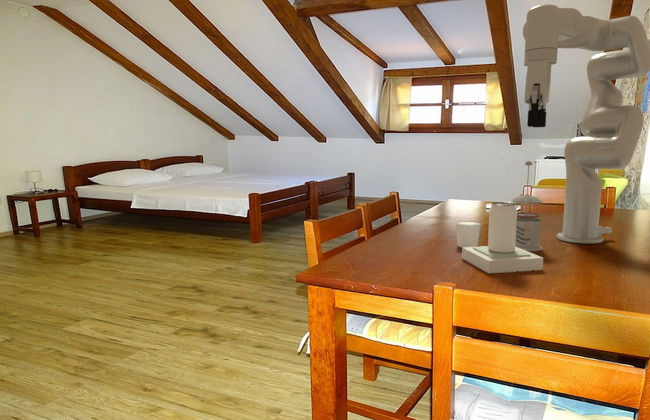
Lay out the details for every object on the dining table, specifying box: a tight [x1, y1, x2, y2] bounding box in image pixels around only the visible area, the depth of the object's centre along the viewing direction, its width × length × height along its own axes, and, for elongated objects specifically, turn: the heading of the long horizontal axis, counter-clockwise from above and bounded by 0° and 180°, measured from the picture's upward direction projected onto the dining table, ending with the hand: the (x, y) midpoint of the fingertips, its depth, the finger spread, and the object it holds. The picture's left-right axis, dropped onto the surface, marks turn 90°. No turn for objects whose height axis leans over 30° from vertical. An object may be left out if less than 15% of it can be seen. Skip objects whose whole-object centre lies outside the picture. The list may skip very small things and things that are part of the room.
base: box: [461, 245, 544, 274], centre depth 115 cm, size 14×14×3 cm
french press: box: [511, 160, 543, 252], centre depth 131 cm, size 10×12×25 cm
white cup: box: [455, 220, 481, 248], centre depth 134 cm, size 7×7×7 cm
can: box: [487, 201, 518, 253], centre depth 114 cm, size 6×6×12 cm
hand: (536, 126), depth 118 cm, fingers open, 9 cm apart
